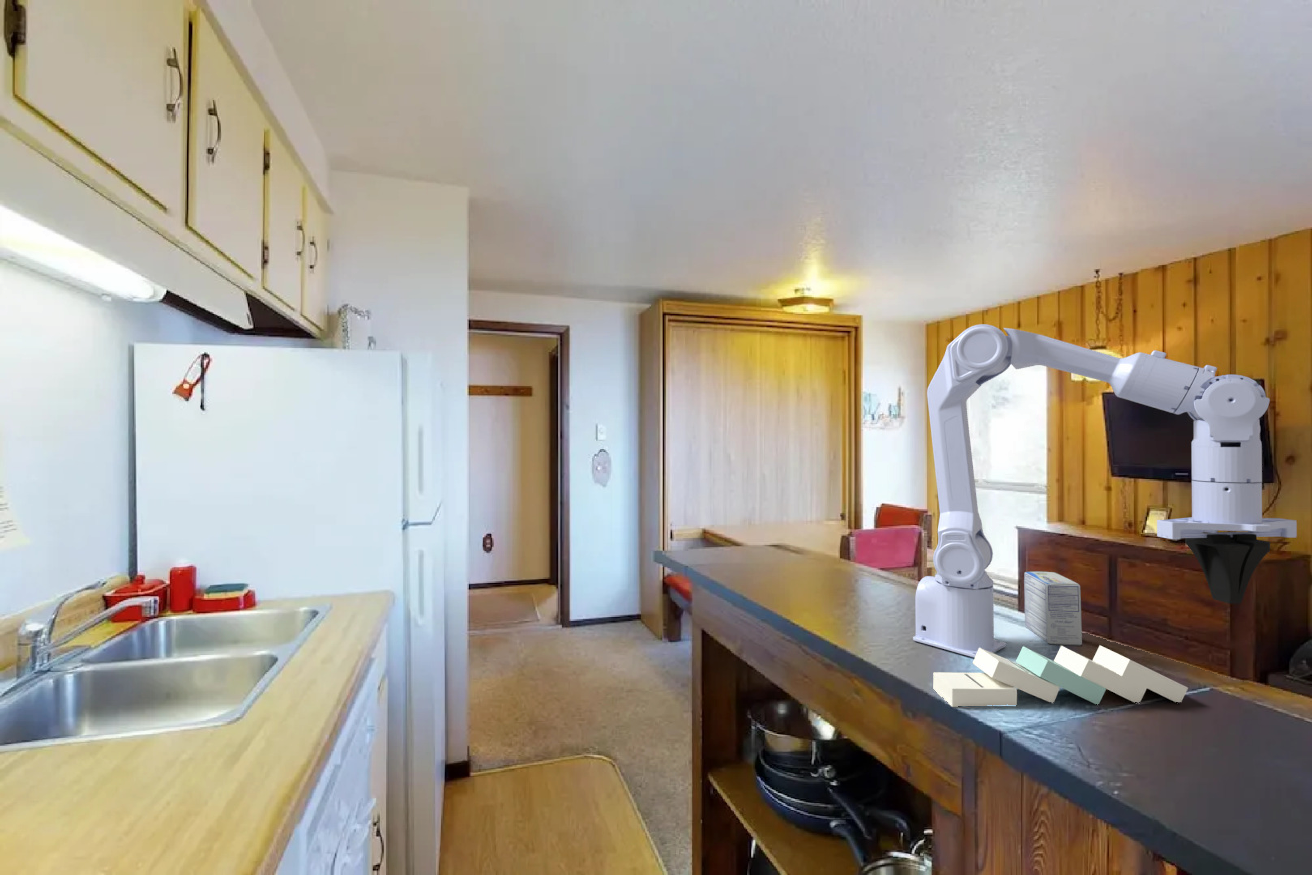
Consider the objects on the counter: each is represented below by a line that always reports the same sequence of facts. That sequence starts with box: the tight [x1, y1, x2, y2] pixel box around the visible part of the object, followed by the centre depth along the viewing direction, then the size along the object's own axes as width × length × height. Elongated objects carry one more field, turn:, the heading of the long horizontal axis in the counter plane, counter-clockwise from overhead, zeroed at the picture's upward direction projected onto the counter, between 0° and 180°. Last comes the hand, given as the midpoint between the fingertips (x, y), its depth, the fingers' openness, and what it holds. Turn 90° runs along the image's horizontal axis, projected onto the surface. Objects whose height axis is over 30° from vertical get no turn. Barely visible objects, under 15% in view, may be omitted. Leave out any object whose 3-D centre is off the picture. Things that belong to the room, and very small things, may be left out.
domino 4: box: [1053, 645, 1148, 704], centre depth 66 cm, size 2×4×7 cm
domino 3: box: [1015, 646, 1107, 706], centre depth 66 cm, size 2×4×7 cm
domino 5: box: [1091, 645, 1189, 703], centre depth 66 cm, size 2×4×7 cm
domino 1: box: [932, 671, 1018, 708], centre depth 66 cm, size 2×4×7 cm
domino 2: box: [972, 648, 1061, 704], centre depth 66 cm, size 2×4×7 cm
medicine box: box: [1023, 571, 1083, 646], centre depth 86 cm, size 8×4×9 cm, turn 168°
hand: (1226, 601), depth 66 cm, fingers closed
